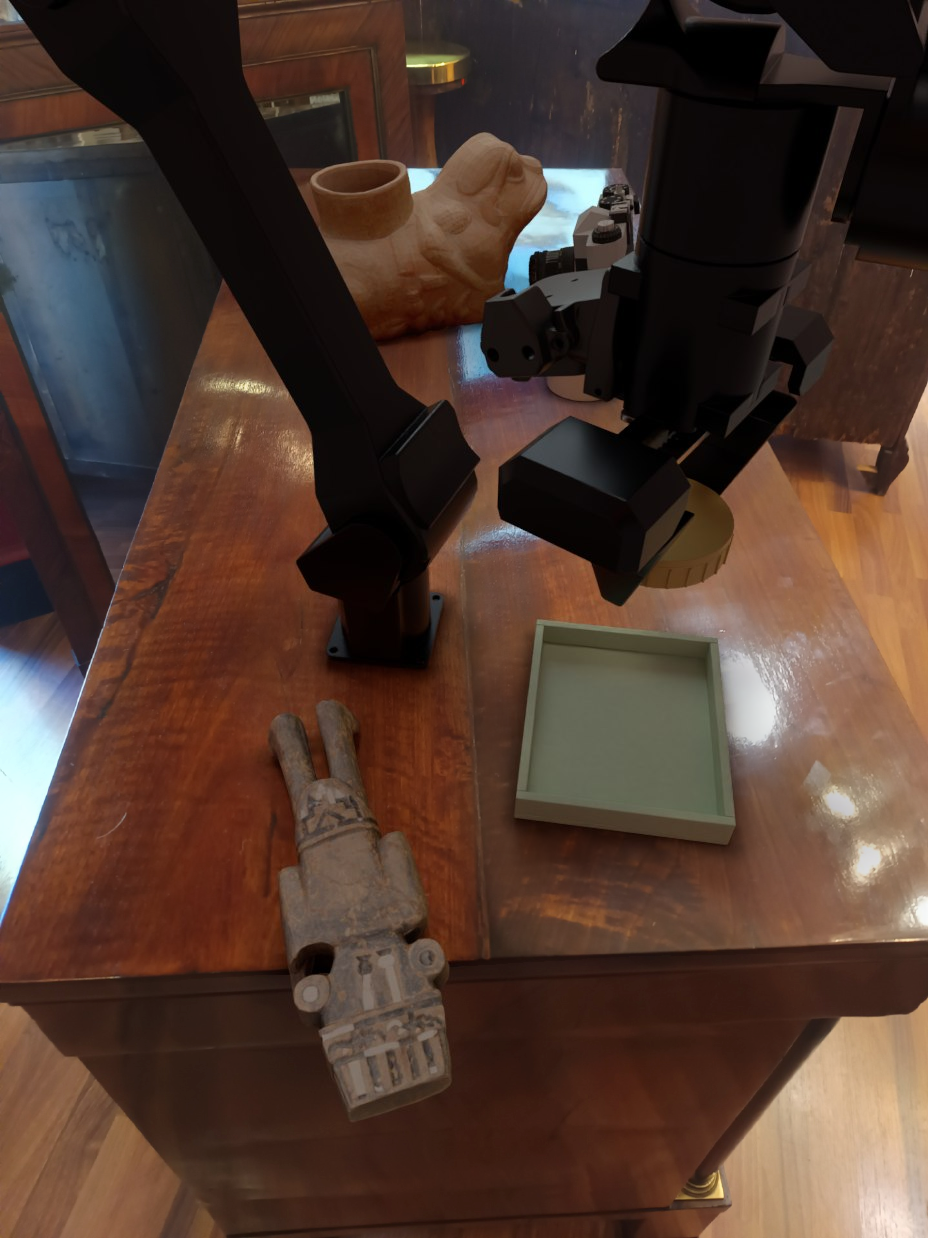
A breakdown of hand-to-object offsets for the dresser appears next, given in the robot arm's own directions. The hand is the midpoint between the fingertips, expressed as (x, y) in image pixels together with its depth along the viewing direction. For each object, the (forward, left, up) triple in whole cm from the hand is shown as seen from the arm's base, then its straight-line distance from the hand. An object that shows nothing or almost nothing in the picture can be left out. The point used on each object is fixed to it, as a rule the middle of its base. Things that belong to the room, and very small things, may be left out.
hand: (648, 562), depth 40 cm
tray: (-2, 0, -11) cm, 11 cm away
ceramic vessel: (+50, +21, -12) cm, 55 cm away
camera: (+54, +5, -12) cm, 56 cm away
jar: (+37, +4, -11) cm, 39 cm away
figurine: (-14, +13, -7) cm, 20 cm away
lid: (0, 0, +3) cm, 3 cm away
